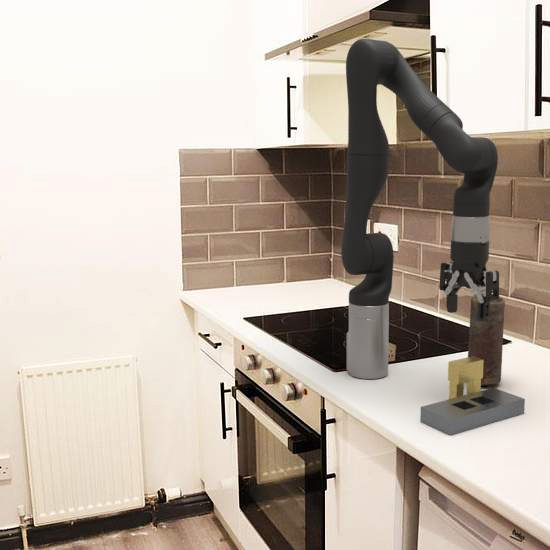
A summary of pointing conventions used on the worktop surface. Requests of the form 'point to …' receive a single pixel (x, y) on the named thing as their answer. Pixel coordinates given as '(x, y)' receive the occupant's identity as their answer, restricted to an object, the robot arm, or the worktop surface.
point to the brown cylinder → (487, 339)
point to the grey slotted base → (472, 410)
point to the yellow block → (465, 376)
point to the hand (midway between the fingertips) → (467, 316)
